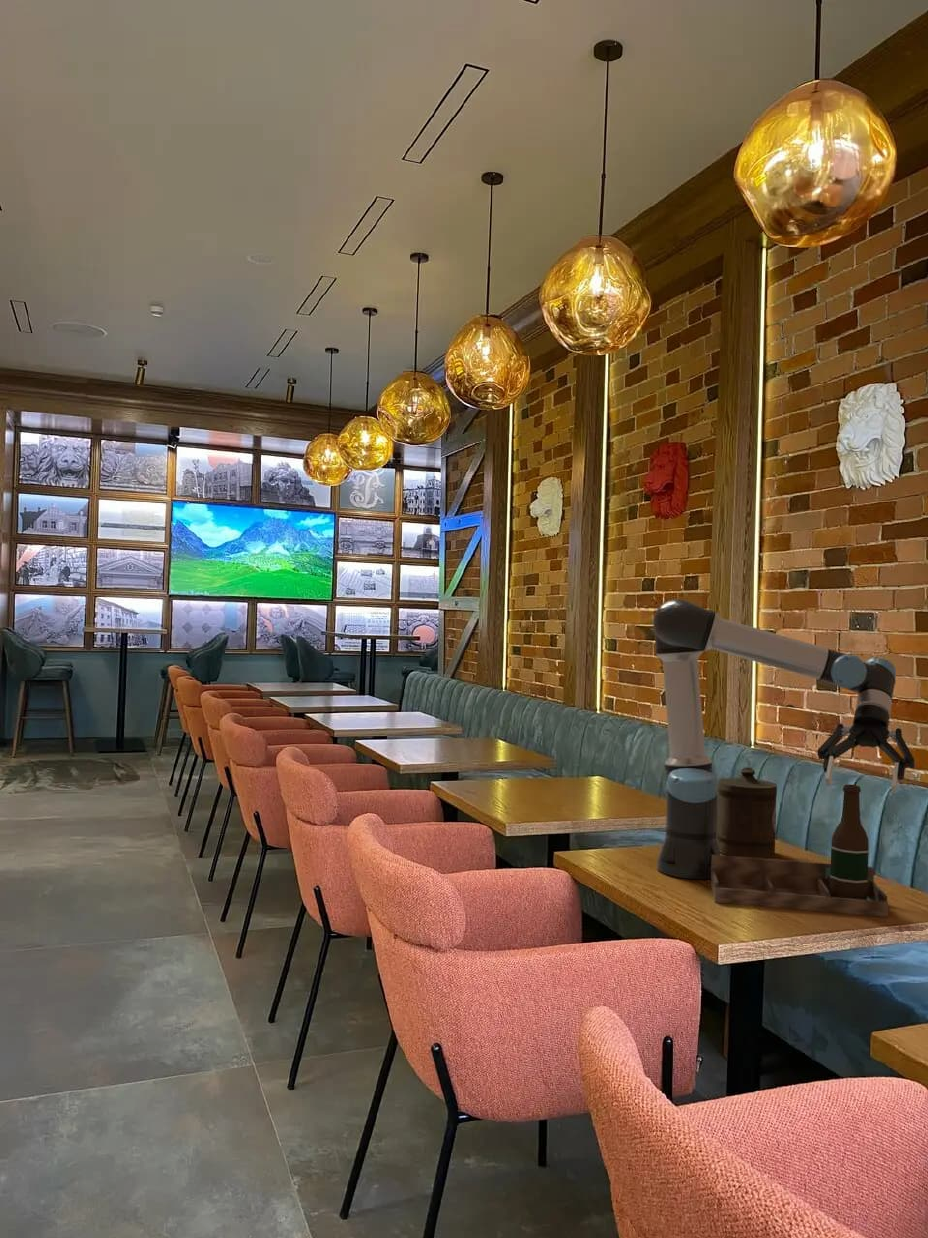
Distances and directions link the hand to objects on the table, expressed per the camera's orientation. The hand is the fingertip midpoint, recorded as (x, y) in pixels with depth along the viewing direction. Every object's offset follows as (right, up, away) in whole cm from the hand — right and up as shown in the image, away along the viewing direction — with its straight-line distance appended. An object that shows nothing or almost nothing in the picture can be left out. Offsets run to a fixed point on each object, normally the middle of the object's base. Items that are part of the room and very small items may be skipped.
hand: (860, 786), depth 206 cm
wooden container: (-15, -24, +36) cm, 46 cm away
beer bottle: (-6, -22, -9) cm, 25 cm away
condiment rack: (-17, -23, -7) cm, 30 cm away
